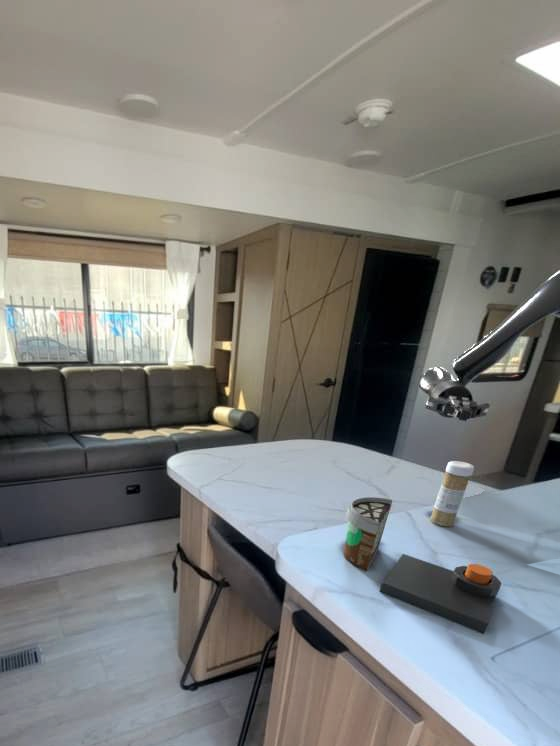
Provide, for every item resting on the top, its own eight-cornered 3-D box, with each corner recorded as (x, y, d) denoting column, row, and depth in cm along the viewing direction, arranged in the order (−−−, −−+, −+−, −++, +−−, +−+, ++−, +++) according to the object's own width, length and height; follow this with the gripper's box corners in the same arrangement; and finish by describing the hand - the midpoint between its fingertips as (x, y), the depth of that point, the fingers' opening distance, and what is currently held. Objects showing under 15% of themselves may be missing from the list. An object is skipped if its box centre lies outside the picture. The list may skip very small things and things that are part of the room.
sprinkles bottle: (452, 521, 89) (473, 462, 83) (453, 529, 85) (476, 469, 80) (428, 516, 91) (447, 458, 85) (429, 524, 87) (449, 464, 81)
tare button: (489, 578, 64) (494, 569, 63) (487, 587, 61) (491, 577, 61) (466, 570, 65) (469, 561, 65) (462, 578, 63) (466, 569, 62)
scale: (494, 594, 65) (503, 576, 64) (484, 634, 56) (493, 615, 55) (400, 561, 73) (406, 544, 72) (379, 592, 65) (384, 574, 63)
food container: (346, 536, 81) (357, 490, 77) (379, 546, 78) (393, 499, 74) (328, 563, 72) (339, 512, 68) (364, 575, 69) (379, 523, 64)
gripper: (425, 379, 100) (435, 394, 86) (487, 385, 96) (509, 402, 81) (415, 409, 103) (423, 428, 89) (475, 417, 99) (493, 437, 85)
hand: (464, 415), depth 85 cm, fingers closed
